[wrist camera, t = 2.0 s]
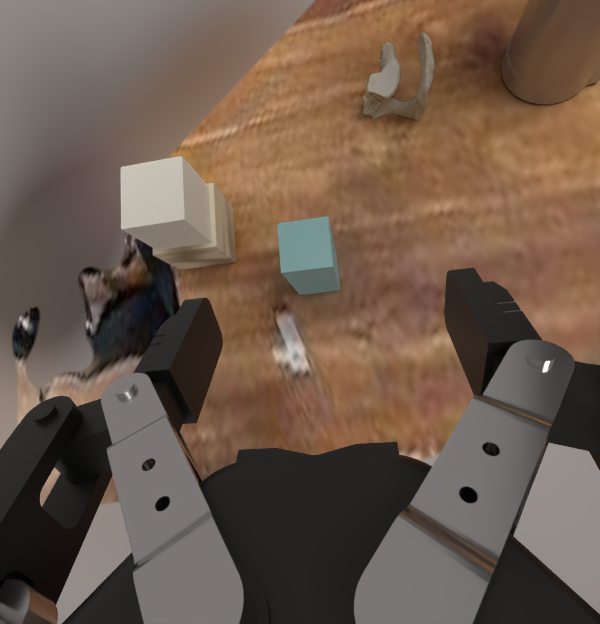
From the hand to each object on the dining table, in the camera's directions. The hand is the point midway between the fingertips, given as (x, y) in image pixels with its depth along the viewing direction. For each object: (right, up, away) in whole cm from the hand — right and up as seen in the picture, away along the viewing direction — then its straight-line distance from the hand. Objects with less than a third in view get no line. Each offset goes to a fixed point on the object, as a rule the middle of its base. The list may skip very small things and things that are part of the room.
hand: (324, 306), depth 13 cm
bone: (+9, +24, +31) cm, 40 cm away
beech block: (-12, +9, +32) cm, 36 cm away
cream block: (-13, +10, +26) cm, 31 cm away
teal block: (+1, +4, +29) cm, 30 cm away
